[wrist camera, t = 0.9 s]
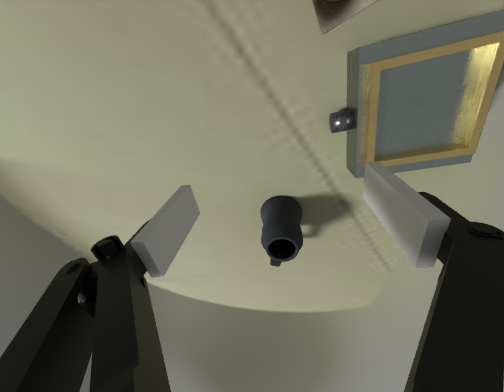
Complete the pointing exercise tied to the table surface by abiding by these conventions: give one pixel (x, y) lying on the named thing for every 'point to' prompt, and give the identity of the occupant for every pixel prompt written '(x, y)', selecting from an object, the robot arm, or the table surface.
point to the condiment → (337, 11)
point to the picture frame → (421, 96)
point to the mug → (281, 229)
